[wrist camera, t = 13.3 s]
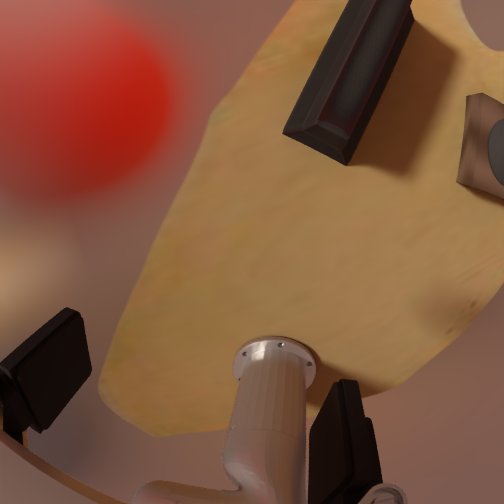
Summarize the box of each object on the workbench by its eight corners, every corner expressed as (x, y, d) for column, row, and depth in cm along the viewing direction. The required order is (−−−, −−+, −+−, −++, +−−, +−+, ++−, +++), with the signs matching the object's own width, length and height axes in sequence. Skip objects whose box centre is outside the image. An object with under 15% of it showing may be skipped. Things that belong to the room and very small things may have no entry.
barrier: (347, 167, 33) (368, 174, 23) (280, 133, 32) (275, 126, 23) (414, 20, 24) (445, -10, 15) (354, -13, 24) (369, -52, 15)
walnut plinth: (513, 203, 30) (531, 210, 25) (456, 181, 31) (473, 186, 26) (523, 127, 25) (541, 127, 21) (466, 96, 26) (484, 92, 22)
